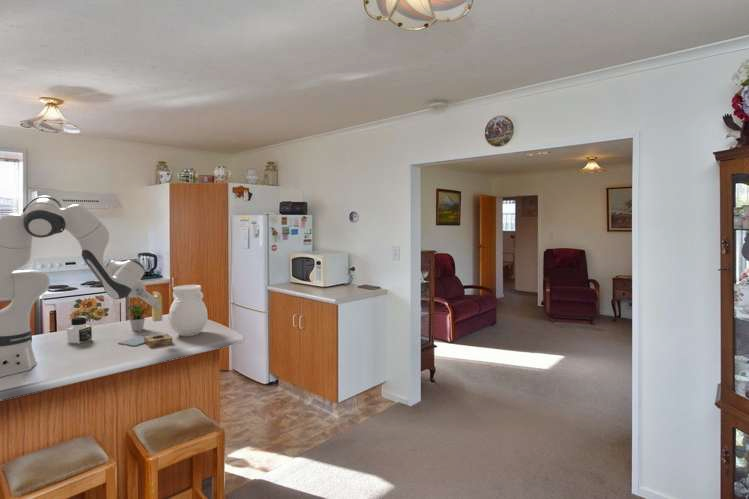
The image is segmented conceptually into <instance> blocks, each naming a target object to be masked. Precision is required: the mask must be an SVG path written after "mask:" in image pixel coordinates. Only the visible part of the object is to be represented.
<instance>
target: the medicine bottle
mask: <svg viewBox="0 0 749 499" xmlns="http://www.w3.org/2000/svg"><path fill="white" fill-rule="evenodd" d="M70 321H71V322H70V323H71V327H68V328H67V327H66V334H67V337H66V338H67V343H68V344H76V343H77V345H78V344H83V343H87V342H89V341H91V340H92V339H93V334H92V333H93V332H92V331H93V330H92V325H88V324H87V323H88V322H87V316H84V315H83V316H81V315H80V316H75V317H72V318H71V319H70Z"/></svg>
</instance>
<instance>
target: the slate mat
mask: <svg viewBox="0 0 749 499" xmlns="http://www.w3.org/2000/svg"><path fill="white" fill-rule="evenodd" d="M117 344H118V345H122V346H128V347H138V346H141V345H146V344H145V341H144V336H143V337H142V336H137V337H133V338H129V339H126V340H123V341H119V342H117Z"/></svg>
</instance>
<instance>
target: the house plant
mask: <svg viewBox="0 0 749 499" xmlns="http://www.w3.org/2000/svg"><path fill="white" fill-rule="evenodd" d="M129 304H130V305H131V306H132V307H131V306H130V305H129ZM142 304H143V300H142V301H140V302H139V303H138V299H136V300H135V304H134V303H130V302H128V304H127V303H126V304H125V305H124V306H126V307H127V308H128V309H129V310H128V312H130V313H125V317H127V316H128V315H130V316H132V317H130V318H129V321H130V326H131V331H133V332H140V331H143V330H144V326H145V320H146V318H145V316H143V315H145V314H150V310H149V309H151V307H147V308H144V307H146V305H149V304H148V303H147V302H146V304H144V305H142Z"/></svg>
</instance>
